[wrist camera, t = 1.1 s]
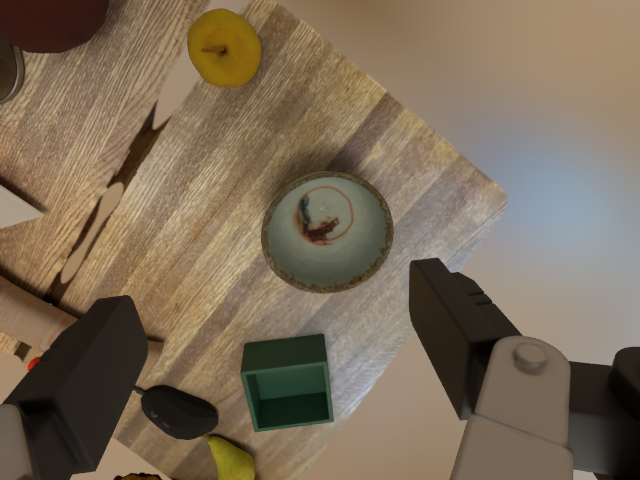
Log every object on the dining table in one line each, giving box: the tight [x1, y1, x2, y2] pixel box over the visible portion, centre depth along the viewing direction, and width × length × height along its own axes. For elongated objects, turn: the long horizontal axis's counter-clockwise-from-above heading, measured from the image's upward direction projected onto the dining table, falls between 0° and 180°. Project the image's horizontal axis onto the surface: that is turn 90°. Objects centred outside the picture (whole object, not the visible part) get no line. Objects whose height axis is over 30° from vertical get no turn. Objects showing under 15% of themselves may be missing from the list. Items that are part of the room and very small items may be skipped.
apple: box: [187, 9, 262, 87], centre depth 34 cm, size 6×6×8 cm
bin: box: [240, 334, 334, 432], centre depth 53 cm, size 11×11×6 cm
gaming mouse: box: [133, 387, 218, 440], centre depth 54 cm, size 6×15×4 cm, turn 52°
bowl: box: [261, 171, 394, 294], centre depth 42 cm, size 14×13×8 cm
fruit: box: [199, 435, 255, 480], centre depth 59 cm, size 6×6×12 cm
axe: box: [0, 185, 164, 385], centre depth 45 cm, size 18×5×30 cm
